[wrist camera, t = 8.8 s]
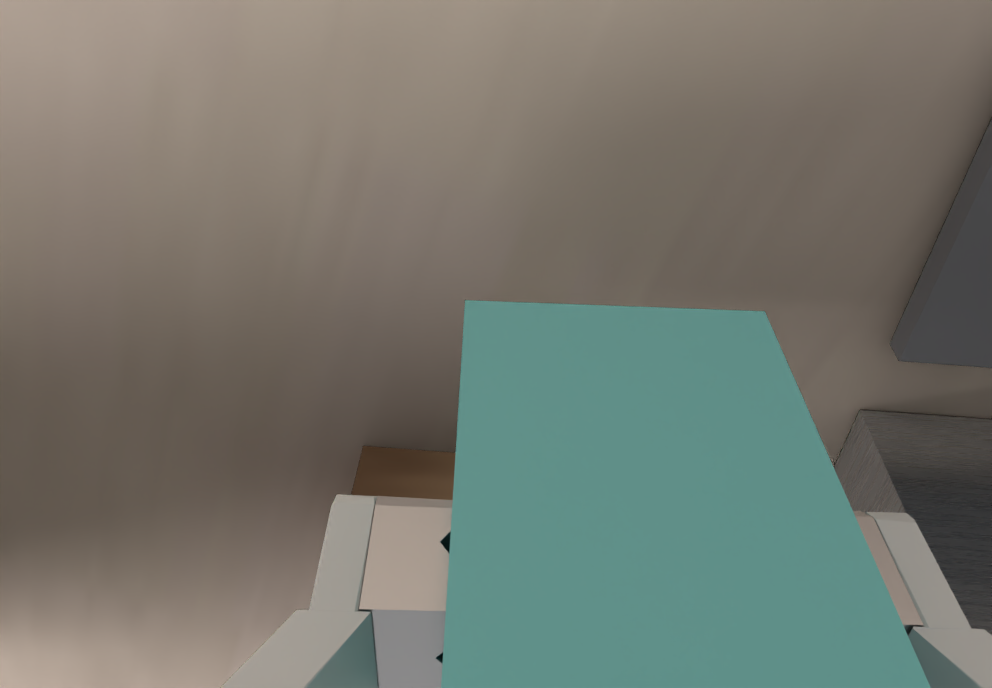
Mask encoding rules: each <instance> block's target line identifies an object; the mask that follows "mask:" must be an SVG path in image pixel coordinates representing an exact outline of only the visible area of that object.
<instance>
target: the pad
mask: <svg viewBox="0 0 992 688" xmlns="http://www.w3.org/2000/svg"><path fill="white" fill-rule="evenodd" d="M890 346H891V348H892V349H893V351H894V353H895V355H896V357H897V359H898V360H899V361H904V362H918V363H932V364H946V365H960V366H974V367H987V368H992V119H991V121H990V123H989V126H988V128H987V130H986V132H985V134H984V137H983V139H982V141H981V143H980V145H979V148H978V150H977V152H976V154H975V156H974V159H973V161H972V163H971V165H970V168H969V170H968V172H967V174H966V176H965V179H964V181H963V183H962V185H961V187H960V190H959V192H958V194H957V196H956V198H955V201H954V203H953V205H952V207H951V210H950V212H949V214H948V216H947V218H946V221H945V223H944V225H943V227H942V229H941V232H940V234H939V236H938V238H937V240H936V243H935V245H934V247H933V249H932V251H931V254H930V256H929V258H928V260H927V263H926V265H925V267H924V269H923V271H922V274H921V276H920V278H919V280H918V282H917V285H916V287H915V289H914V291H913V293H912V296H911V298H910V300H909V302H908V305H907V307H906V309H905V311H904V313H903V316H902V318H901V320H900V322H899V324H898V327H897V329H896V331H895V333H894V335H893V338H892V340H891V342H890Z"/></svg>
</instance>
